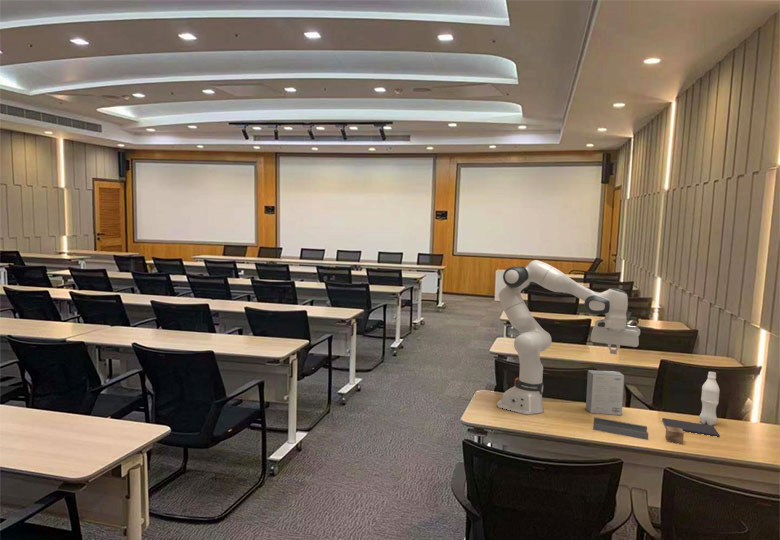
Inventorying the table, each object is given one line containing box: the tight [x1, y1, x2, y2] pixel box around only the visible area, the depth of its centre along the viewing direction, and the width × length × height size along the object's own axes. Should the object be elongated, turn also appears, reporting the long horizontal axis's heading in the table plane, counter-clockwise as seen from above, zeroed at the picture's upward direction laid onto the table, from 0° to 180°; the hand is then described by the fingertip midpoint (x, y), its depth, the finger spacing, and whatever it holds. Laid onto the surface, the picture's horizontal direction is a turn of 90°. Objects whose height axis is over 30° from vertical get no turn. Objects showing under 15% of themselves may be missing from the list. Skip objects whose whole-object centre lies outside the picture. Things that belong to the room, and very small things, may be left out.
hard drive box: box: [585, 369, 625, 416], centre depth 248 cm, size 16×8×20 cm, turn 84°
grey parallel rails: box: [592, 416, 649, 441], centre depth 224 cm, size 22×10×2 cm, turn 66°
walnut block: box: [665, 426, 685, 445], centre depth 216 cm, size 6×6×5 cm
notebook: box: [661, 417, 720, 438], centre depth 232 cm, size 13×2×21 cm
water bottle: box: [699, 371, 721, 426], centre depth 238 cm, size 7×7×25 cm
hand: (613, 353), depth 230 cm, fingers closed
